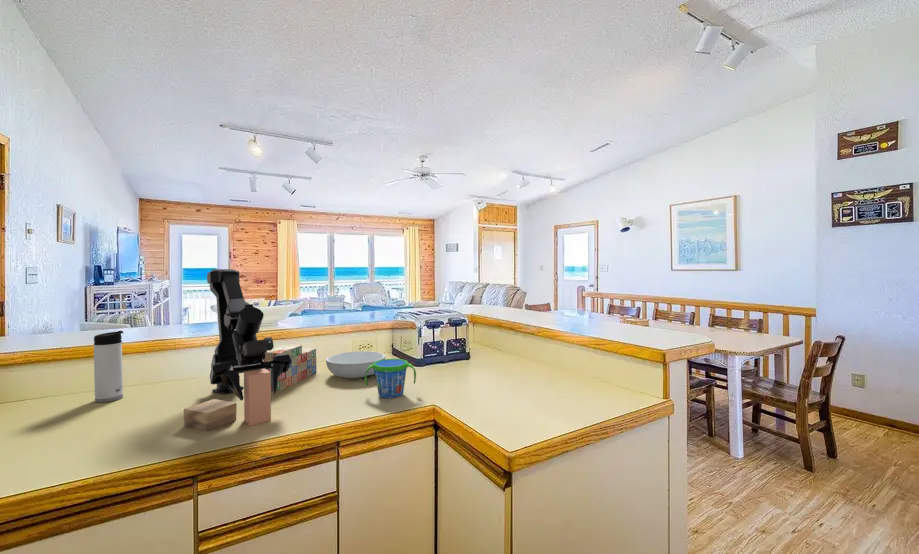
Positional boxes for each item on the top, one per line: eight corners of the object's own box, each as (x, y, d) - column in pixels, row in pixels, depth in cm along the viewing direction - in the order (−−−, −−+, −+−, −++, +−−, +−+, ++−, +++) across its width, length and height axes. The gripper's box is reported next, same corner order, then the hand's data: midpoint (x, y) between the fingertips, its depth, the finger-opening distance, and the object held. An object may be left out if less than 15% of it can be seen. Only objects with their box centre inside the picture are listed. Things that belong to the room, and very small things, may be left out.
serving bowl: (367, 365, 160) (367, 348, 160) (396, 376, 145) (396, 357, 145) (316, 374, 146) (316, 356, 146) (342, 387, 131) (342, 366, 131)
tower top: (183, 419, 98) (183, 409, 98) (213, 408, 105) (213, 398, 105) (207, 423, 95) (207, 413, 95) (236, 412, 103) (236, 402, 103)
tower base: (184, 428, 99) (184, 418, 99) (215, 417, 106) (215, 407, 106) (206, 433, 95) (205, 423, 95) (236, 421, 103) (236, 412, 103)
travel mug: (125, 398, 119) (124, 331, 118) (96, 404, 114) (94, 334, 113) (122, 394, 123) (121, 329, 123) (93, 399, 118) (92, 332, 118)
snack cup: (361, 400, 118) (360, 366, 118) (369, 389, 128) (369, 358, 128) (413, 401, 118) (413, 366, 117) (417, 390, 128) (417, 358, 128)
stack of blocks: (301, 372, 150) (301, 339, 149) (316, 373, 149) (316, 340, 148) (262, 389, 129) (262, 351, 129) (280, 390, 128) (279, 352, 127)
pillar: (244, 419, 103) (243, 371, 102) (265, 415, 106) (264, 368, 106) (249, 425, 99) (249, 375, 99) (271, 420, 102) (270, 372, 102)
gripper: (211, 331, 99) (221, 386, 91) (289, 324, 111) (304, 372, 103) (205, 357, 105) (214, 411, 97) (280, 348, 117) (293, 394, 109)
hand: (258, 396), depth 101 cm, fingers open, 7 cm apart
